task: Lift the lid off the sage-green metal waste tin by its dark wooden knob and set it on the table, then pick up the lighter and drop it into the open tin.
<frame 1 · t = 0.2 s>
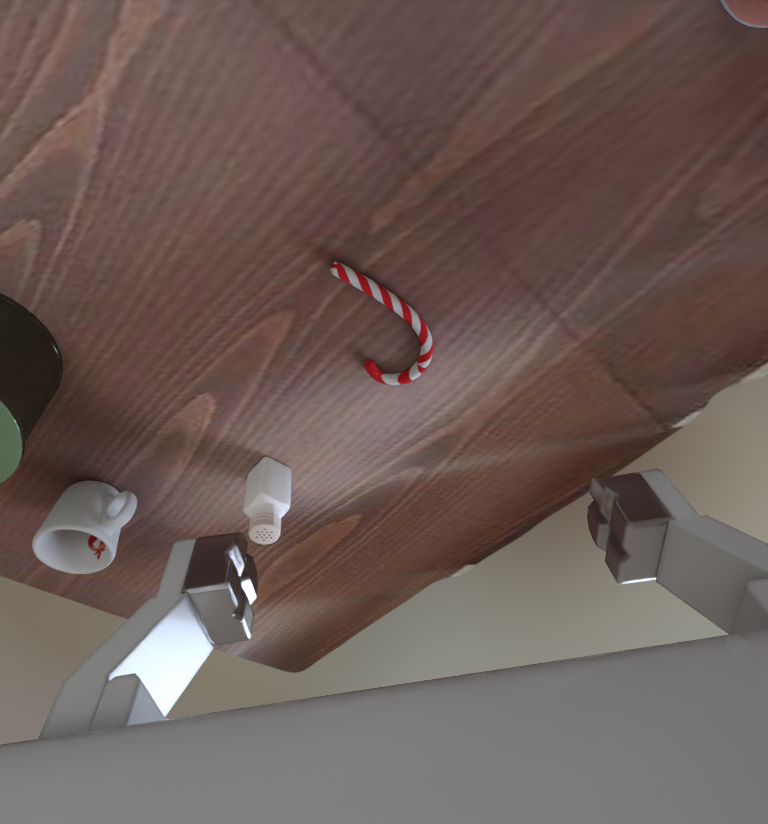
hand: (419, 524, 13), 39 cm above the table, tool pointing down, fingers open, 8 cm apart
pepper shaker: (270, 469, 64), on the table
candy cane: (375, 321, 54), on the table
cup: (106, 490, 64), on the table
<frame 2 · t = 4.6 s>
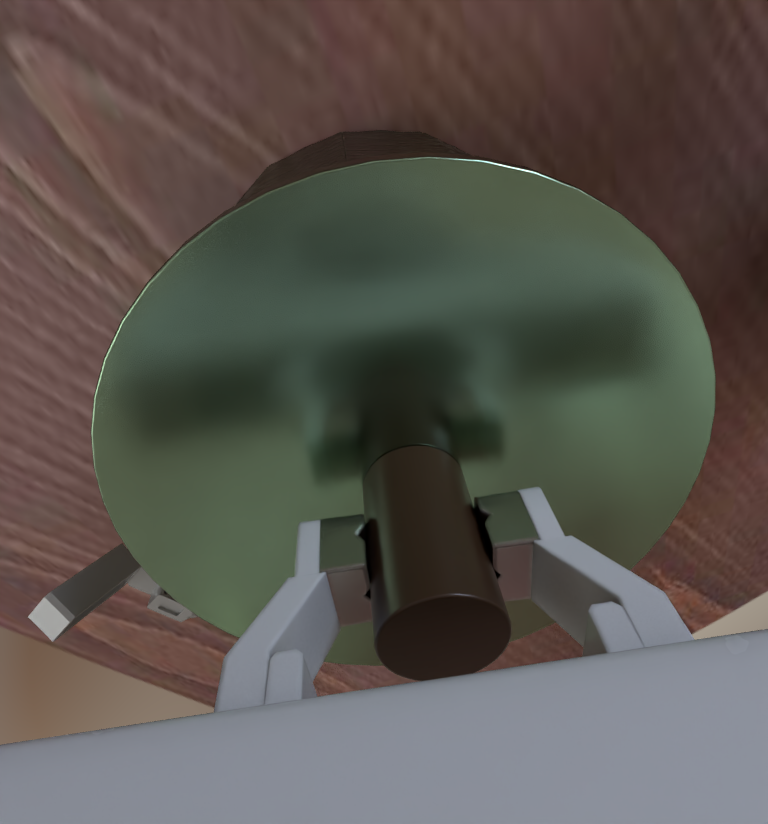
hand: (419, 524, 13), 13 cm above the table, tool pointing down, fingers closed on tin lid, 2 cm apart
lighter: (171, 510, 28), on the table
tin lid: (410, 471, 15), point 11 cm above the table, touching gripper, tin
tin: (380, 316, 23), on the table
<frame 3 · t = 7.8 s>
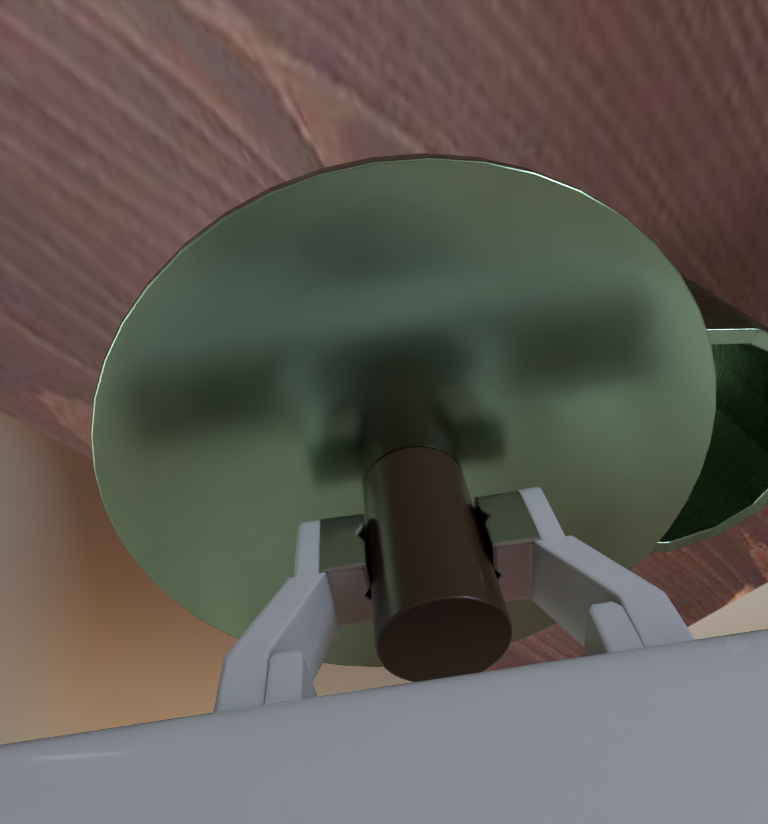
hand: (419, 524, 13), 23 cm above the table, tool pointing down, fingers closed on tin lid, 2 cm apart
tin lid: (410, 472, 15), point 21 cm above the table, touching gripper
tin: (598, 363, 37), on the table
when the fingers open (2 cm above the table, at t = 10.9 s): tin lid stays where it is, point 1 cm above the table.
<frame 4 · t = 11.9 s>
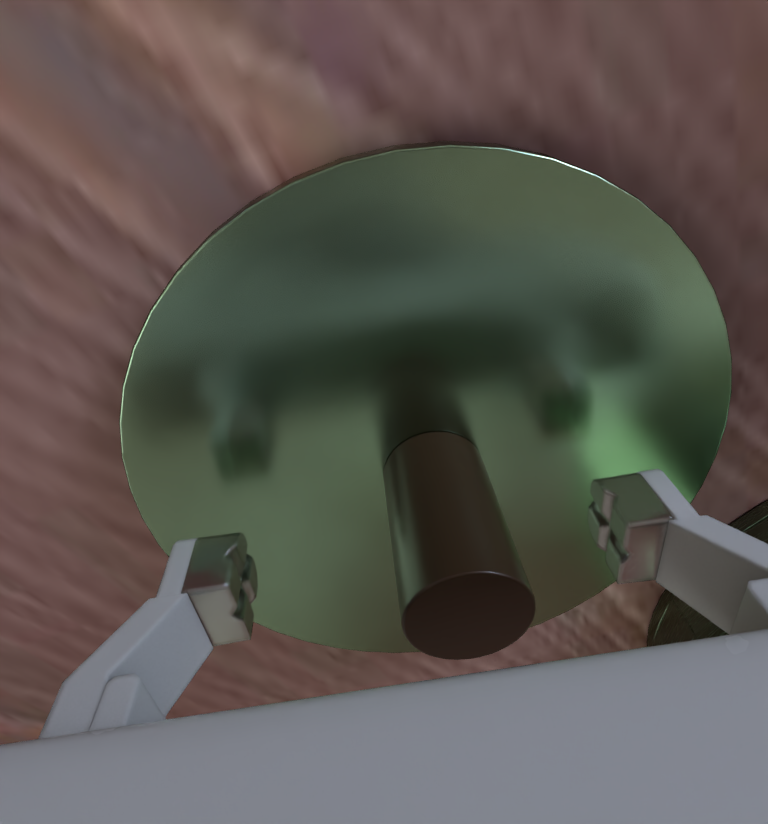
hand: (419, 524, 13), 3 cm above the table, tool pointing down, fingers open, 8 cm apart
tin lid: (429, 458, 15), point 1 cm above the table
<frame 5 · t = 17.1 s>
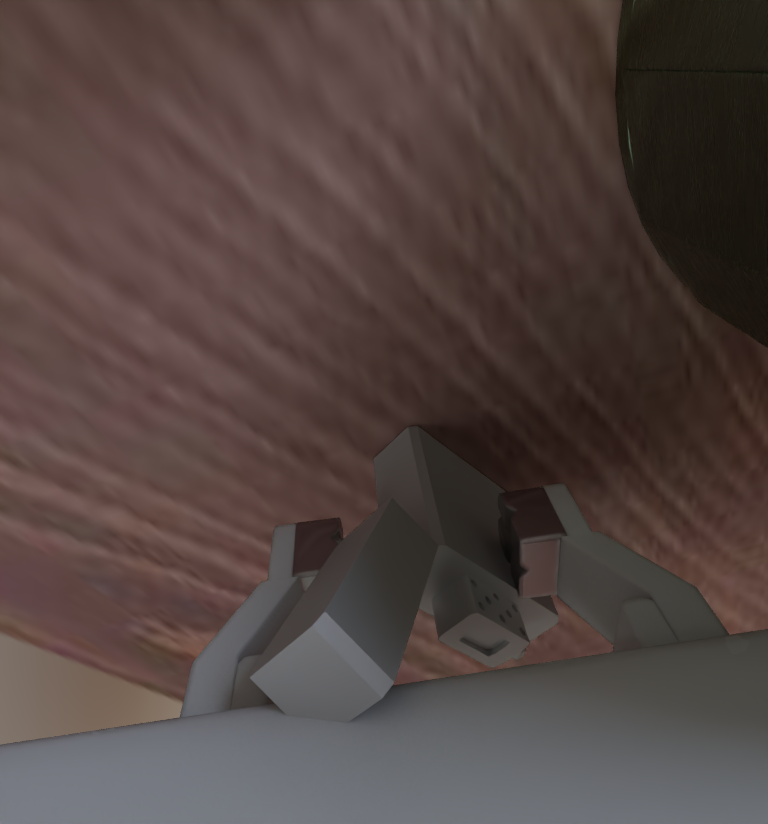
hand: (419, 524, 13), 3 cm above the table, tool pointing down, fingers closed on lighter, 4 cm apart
lighter: (405, 449, 15), on the table, touching gripper
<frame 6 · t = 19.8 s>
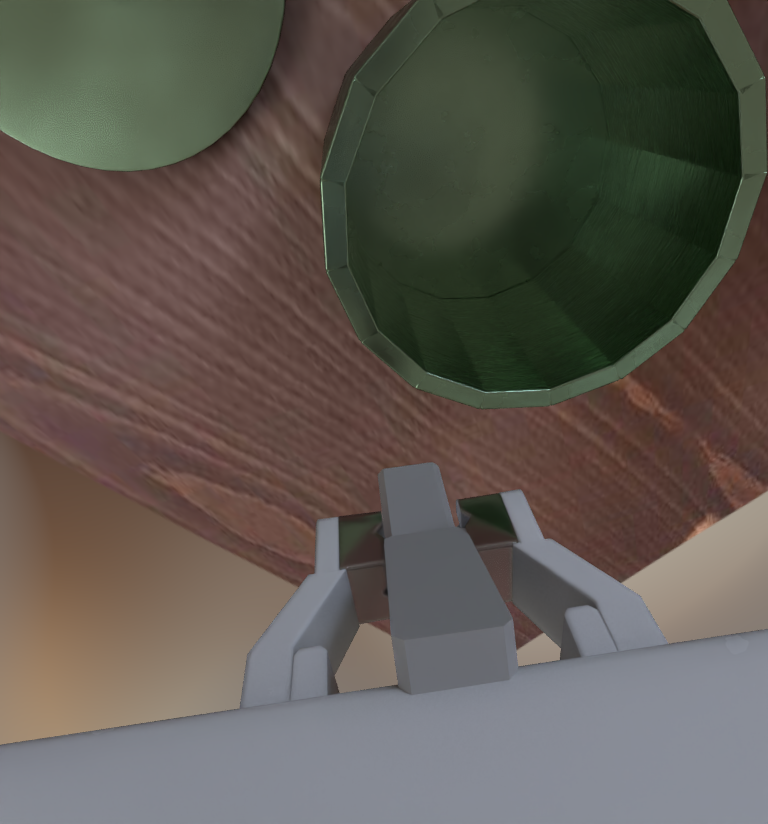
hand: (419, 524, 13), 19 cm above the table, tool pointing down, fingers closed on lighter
lighter: (408, 477, 16), point 16 cm above the table, touching gripper
tin: (472, 169, 27), on the table
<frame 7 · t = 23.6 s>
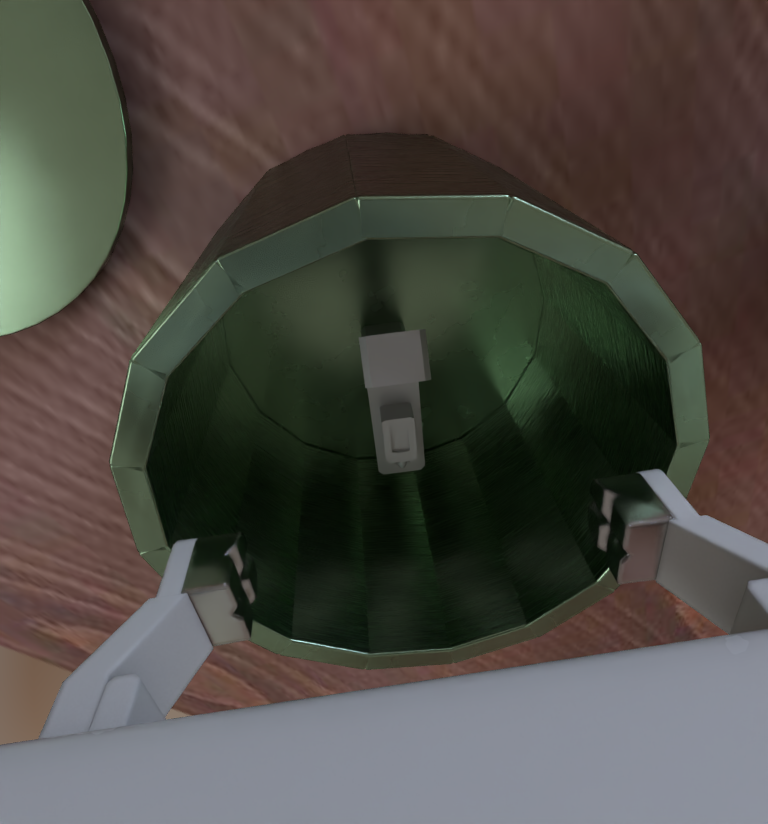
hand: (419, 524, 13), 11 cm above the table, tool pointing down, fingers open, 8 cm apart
lighter: (383, 335, 22), resting on tin
tin: (384, 326, 22), on the table
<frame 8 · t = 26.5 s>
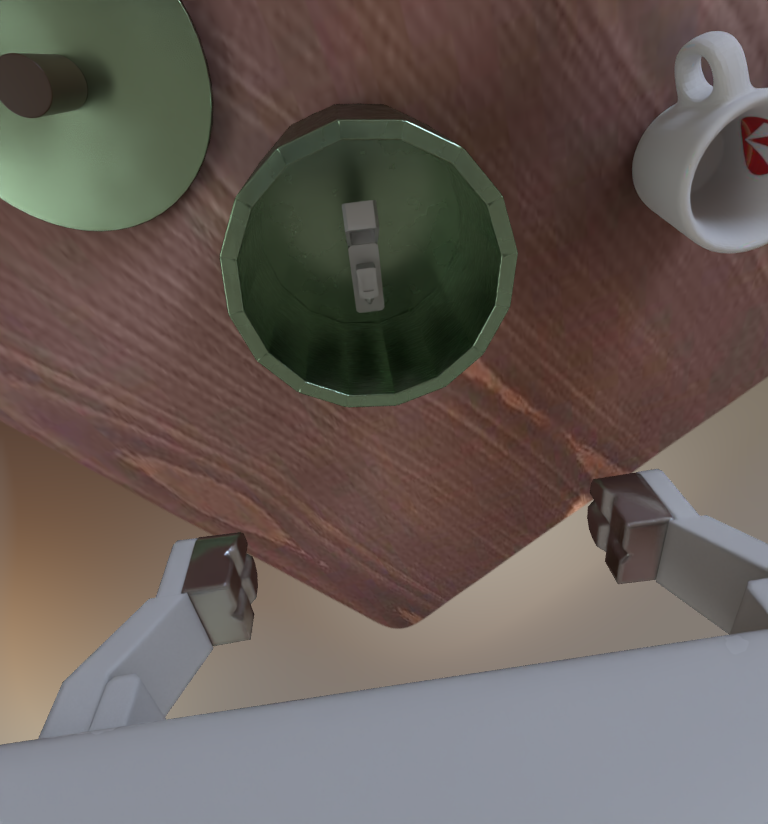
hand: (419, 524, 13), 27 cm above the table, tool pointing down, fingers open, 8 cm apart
lighter: (360, 233, 35), resting on tin
tin lid: (66, 83, 30), point 1 cm above the table
tin: (361, 228, 36), on the table
cup: (671, 132, 34), on the table
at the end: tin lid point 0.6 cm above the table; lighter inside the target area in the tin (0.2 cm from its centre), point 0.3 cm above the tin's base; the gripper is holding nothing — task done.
